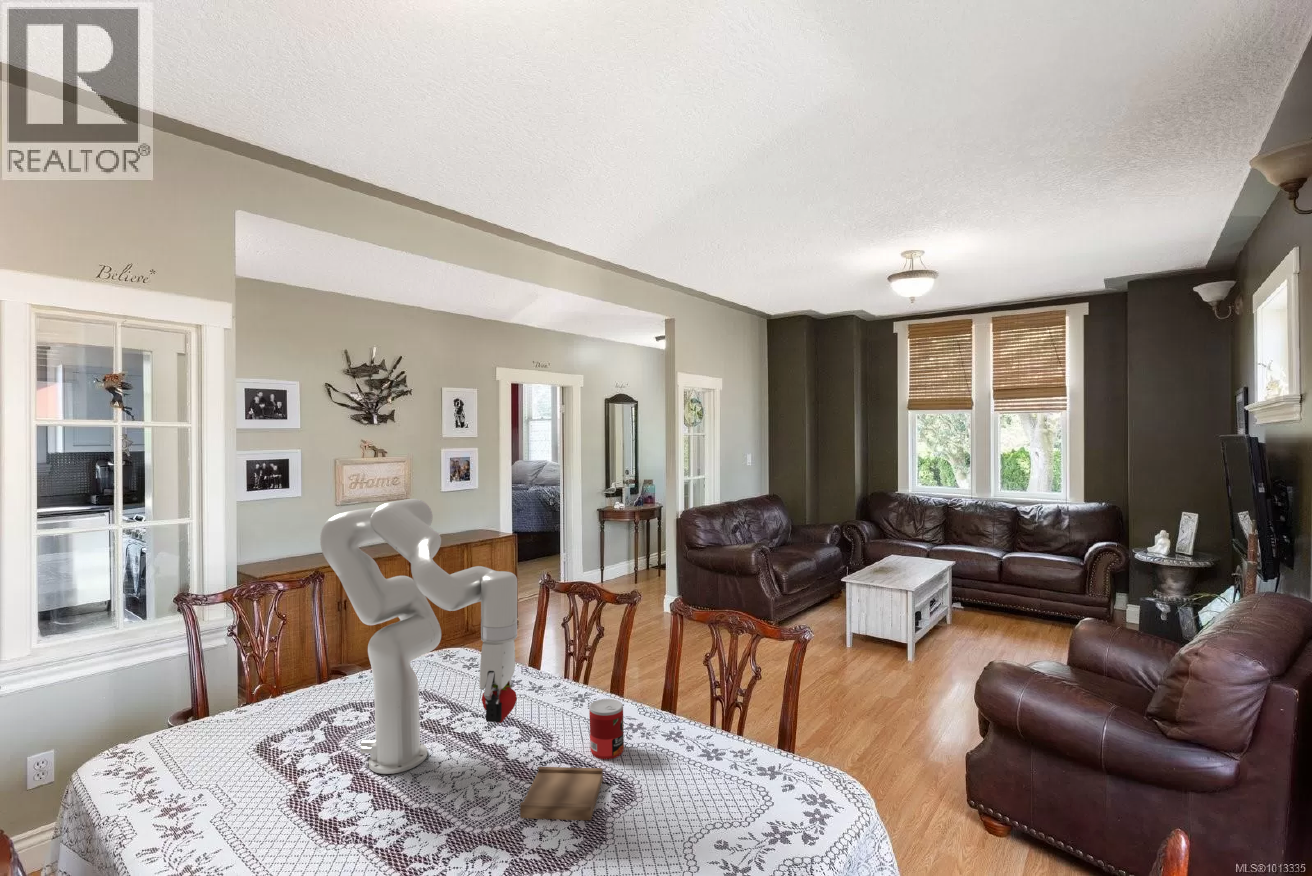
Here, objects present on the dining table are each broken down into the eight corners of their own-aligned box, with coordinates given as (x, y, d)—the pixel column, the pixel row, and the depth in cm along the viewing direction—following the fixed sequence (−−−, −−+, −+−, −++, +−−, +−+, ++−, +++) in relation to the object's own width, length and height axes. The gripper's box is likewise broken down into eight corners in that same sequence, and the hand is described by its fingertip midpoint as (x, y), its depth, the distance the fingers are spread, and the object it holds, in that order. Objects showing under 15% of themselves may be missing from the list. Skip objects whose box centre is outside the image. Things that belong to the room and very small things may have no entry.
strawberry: (511, 731, 133) (511, 683, 132) (476, 728, 133) (477, 681, 133) (520, 717, 139) (520, 672, 138) (487, 715, 139) (487, 670, 139)
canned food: (619, 761, 145) (618, 714, 144) (585, 758, 146) (584, 711, 146) (627, 745, 152) (626, 699, 152) (595, 742, 154) (594, 697, 154)
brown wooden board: (520, 818, 124) (520, 805, 124) (539, 778, 138) (539, 766, 138) (590, 820, 123) (590, 807, 123) (602, 780, 137) (602, 768, 137)
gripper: (495, 617, 144) (495, 695, 145) (466, 644, 127) (466, 733, 128) (527, 618, 144) (527, 697, 144) (503, 646, 126) (503, 735, 127)
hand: (499, 713), depth 136 cm, fingers closed on strawberry, 5 cm apart
